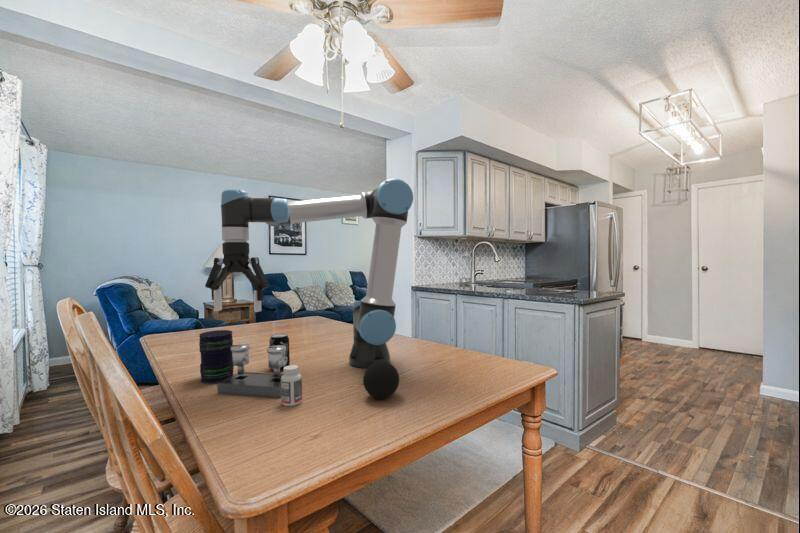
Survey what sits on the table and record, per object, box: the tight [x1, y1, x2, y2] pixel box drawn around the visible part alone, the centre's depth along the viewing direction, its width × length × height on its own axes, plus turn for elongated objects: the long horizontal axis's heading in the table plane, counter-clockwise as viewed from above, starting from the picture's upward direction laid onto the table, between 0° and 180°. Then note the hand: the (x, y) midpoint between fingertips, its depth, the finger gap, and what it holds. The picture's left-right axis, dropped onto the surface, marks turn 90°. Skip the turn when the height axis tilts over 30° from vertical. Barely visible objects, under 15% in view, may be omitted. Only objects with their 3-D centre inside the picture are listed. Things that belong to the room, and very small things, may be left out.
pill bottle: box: [281, 364, 303, 407], centre depth 102 cm, size 5×5×10 cm
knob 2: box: [266, 345, 286, 377], centre depth 112 cm, size 5×5×9 cm
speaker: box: [362, 361, 400, 400], centre depth 105 cm, size 10×10×10 cm
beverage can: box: [269, 332, 291, 372], centre depth 132 cm, size 7×7×12 cm
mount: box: [216, 370, 284, 399], centre depth 113 cm, size 20×11×3 cm, turn 78°
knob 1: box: [231, 343, 251, 375], centre depth 114 cm, size 5×5×9 cm
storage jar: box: [198, 329, 235, 384], centre depth 123 cm, size 10×10×15 cm
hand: (237, 311), depth 115 cm, fingers open, 13 cm apart
